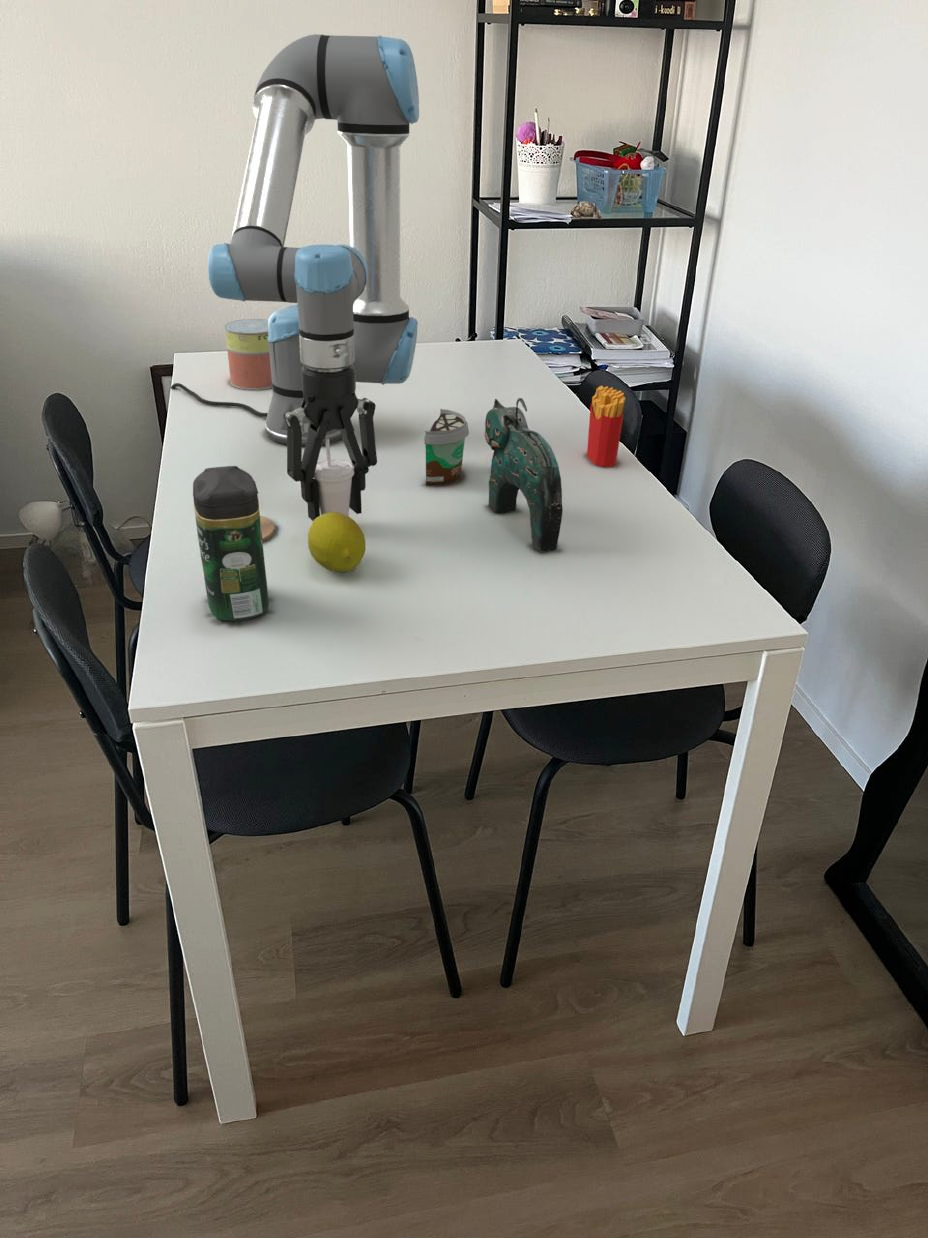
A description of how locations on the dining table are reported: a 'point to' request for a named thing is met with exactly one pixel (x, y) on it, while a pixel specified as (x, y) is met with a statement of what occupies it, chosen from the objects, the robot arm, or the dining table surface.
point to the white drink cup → (334, 484)
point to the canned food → (249, 354)
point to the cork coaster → (266, 528)
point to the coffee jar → (231, 543)
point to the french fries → (605, 426)
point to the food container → (445, 448)
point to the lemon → (336, 542)
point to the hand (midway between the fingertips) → (335, 514)
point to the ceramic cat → (524, 473)
